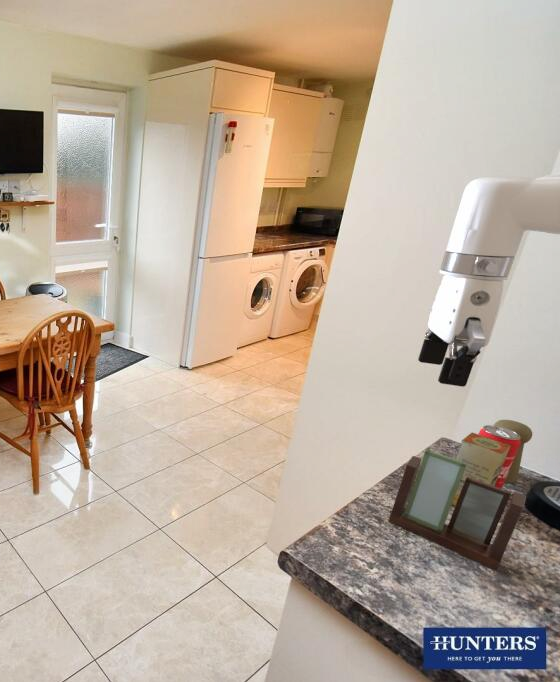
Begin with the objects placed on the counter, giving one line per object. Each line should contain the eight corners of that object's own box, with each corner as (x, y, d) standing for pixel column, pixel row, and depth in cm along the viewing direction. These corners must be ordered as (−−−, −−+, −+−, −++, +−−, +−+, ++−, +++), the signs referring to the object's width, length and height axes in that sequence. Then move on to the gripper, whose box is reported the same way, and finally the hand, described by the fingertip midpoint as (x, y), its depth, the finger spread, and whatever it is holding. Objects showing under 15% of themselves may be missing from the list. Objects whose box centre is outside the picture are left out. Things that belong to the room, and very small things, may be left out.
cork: (524, 478, 85) (545, 428, 82) (506, 485, 83) (527, 433, 79) (485, 461, 90) (503, 413, 87) (467, 467, 88) (486, 418, 85)
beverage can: (487, 483, 83) (509, 427, 80) (505, 500, 79) (530, 441, 75) (454, 478, 85) (474, 422, 81) (470, 495, 80) (493, 437, 76)
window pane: (403, 516, 72) (425, 450, 68) (404, 514, 72) (426, 448, 68) (441, 532, 69) (466, 464, 65) (442, 530, 69) (467, 462, 65)
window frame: (388, 521, 73) (406, 464, 70) (394, 511, 76) (412, 455, 72) (496, 570, 64) (523, 507, 60) (499, 556, 66) (526, 495, 63)
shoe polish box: (486, 505, 78) (510, 445, 74) (477, 515, 75) (501, 454, 71) (450, 489, 81) (472, 432, 78) (440, 499, 79) (462, 440, 75)
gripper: (541, 278, 57) (494, 399, 62) (482, 260, 72) (449, 359, 77) (466, 272, 59) (428, 389, 65) (424, 257, 74) (396, 352, 80)
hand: (439, 373), depth 71 cm, fingers open, 9 cm apart
